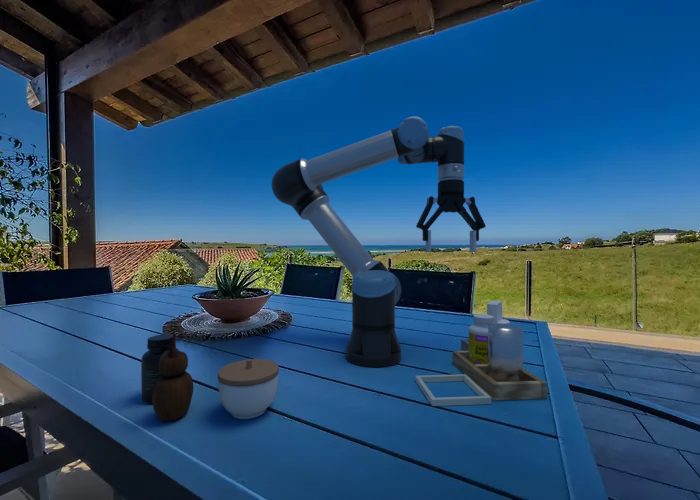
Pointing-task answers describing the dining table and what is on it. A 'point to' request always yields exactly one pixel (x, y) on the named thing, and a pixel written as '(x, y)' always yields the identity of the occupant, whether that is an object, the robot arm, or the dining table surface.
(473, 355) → the supplement bottle
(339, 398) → the dining table surface
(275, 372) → the lidded jar
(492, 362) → the billet
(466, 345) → the gray open box
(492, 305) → the cylinder with rectangular tab
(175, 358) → the wooden figurine
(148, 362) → the supplement bottle
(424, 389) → the rectangular frame
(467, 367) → the wooden tray
